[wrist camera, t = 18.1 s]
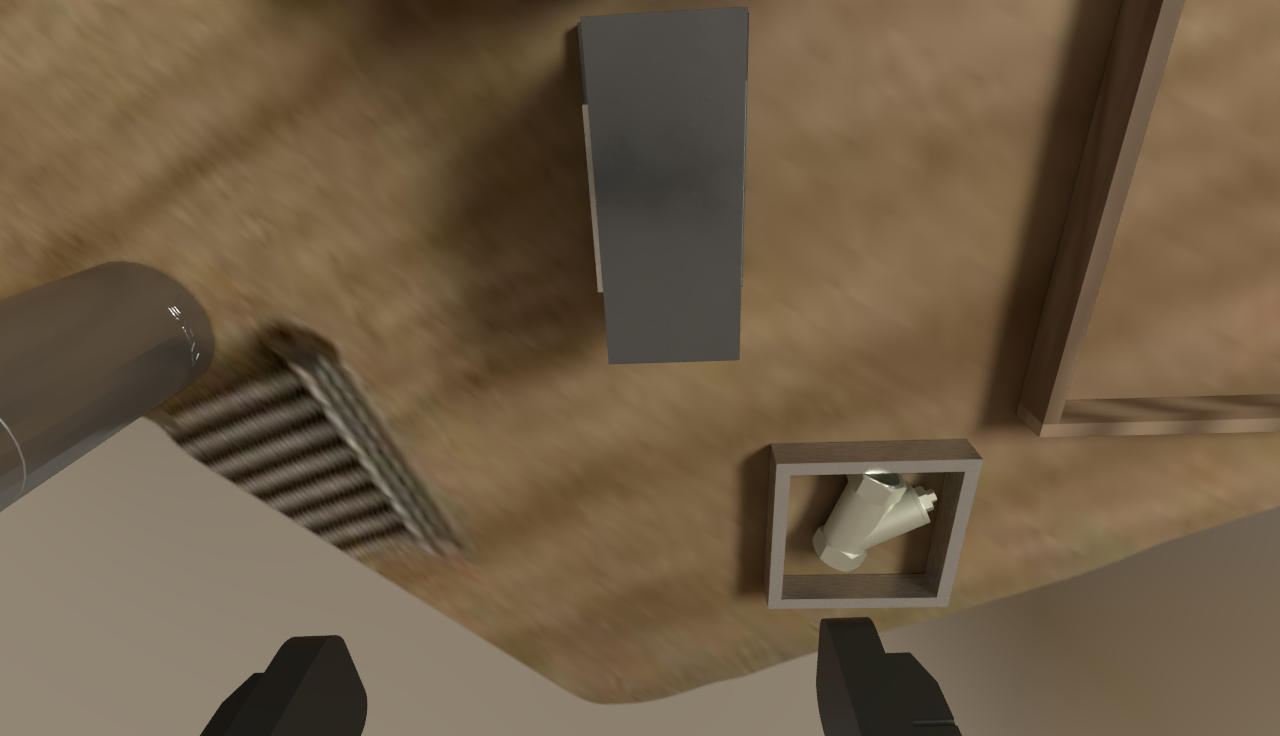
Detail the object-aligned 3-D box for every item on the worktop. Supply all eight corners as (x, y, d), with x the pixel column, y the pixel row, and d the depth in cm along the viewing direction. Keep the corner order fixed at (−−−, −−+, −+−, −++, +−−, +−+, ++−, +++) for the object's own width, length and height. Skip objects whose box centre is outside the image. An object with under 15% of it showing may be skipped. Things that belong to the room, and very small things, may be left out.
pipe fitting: (930, 469, 46) (850, 452, 45) (957, 504, 43) (870, 485, 42) (883, 547, 50) (807, 532, 48) (904, 584, 46) (822, 569, 45)
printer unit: (601, 287, 40) (577, 374, 29) (579, 23, 33) (537, 3, 22) (740, 281, 39) (771, 368, 28) (746, 13, 33) (790, -13, 21)
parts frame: (763, 584, 51) (767, 608, 49) (770, 444, 45) (776, 464, 43) (934, 582, 50) (947, 606, 48) (966, 439, 44) (982, 459, 42)
